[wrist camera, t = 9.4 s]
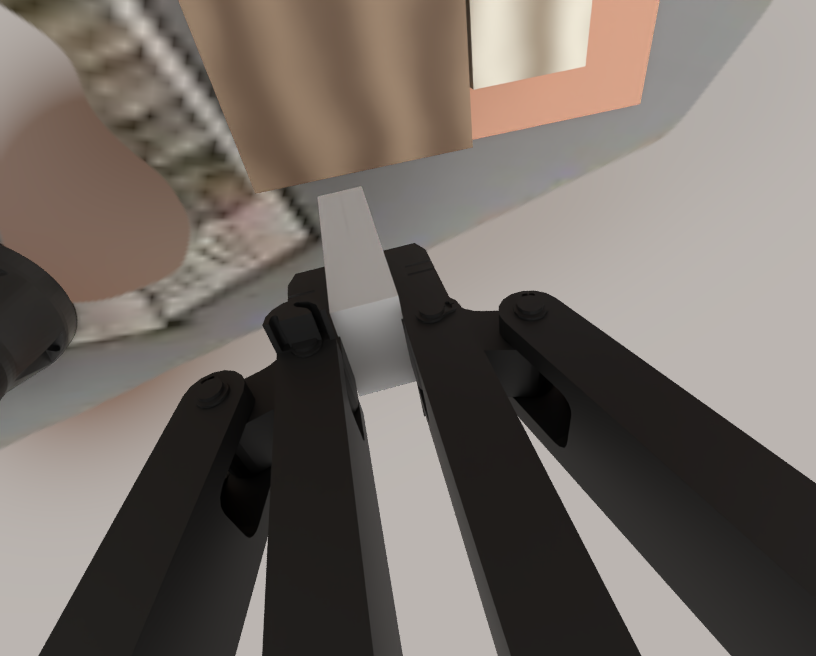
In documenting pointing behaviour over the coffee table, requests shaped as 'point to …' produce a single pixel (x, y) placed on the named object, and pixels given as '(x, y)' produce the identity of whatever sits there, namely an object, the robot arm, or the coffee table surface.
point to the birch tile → (525, 38)
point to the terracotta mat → (577, 75)
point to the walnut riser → (335, 82)
